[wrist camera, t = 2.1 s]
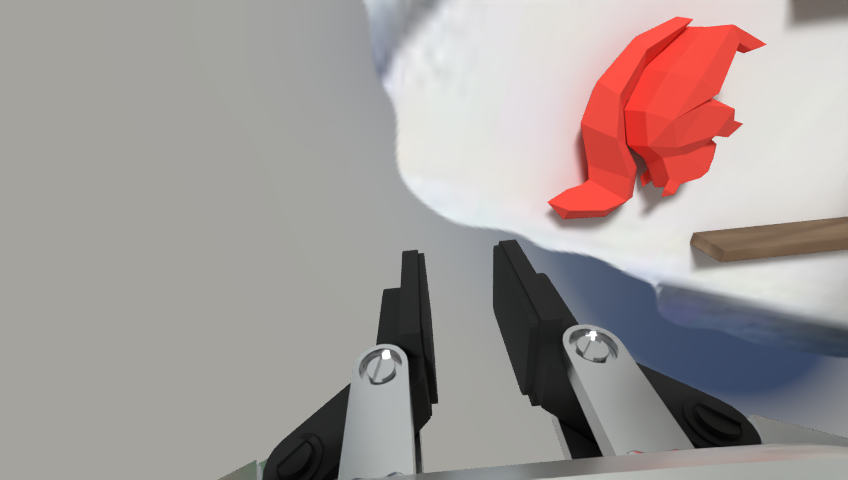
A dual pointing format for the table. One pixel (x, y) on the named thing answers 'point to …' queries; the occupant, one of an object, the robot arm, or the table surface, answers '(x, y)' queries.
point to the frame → (774, 240)
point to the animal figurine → (656, 114)
